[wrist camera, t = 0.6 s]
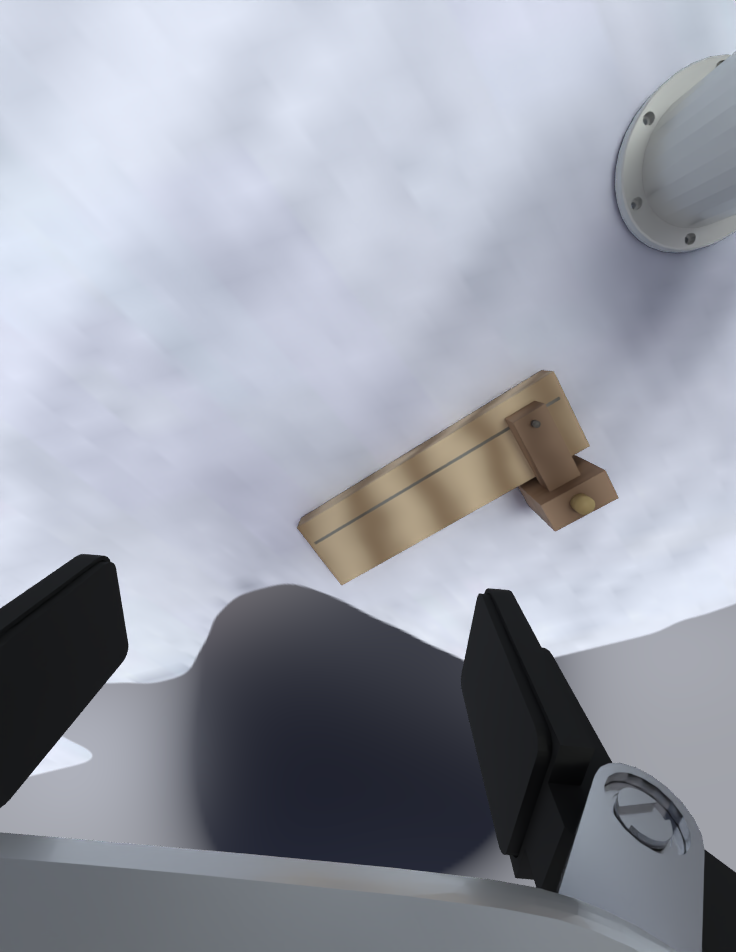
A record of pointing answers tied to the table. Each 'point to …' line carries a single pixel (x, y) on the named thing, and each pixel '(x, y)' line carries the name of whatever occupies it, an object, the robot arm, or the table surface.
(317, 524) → the board
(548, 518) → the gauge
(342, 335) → the table surface
